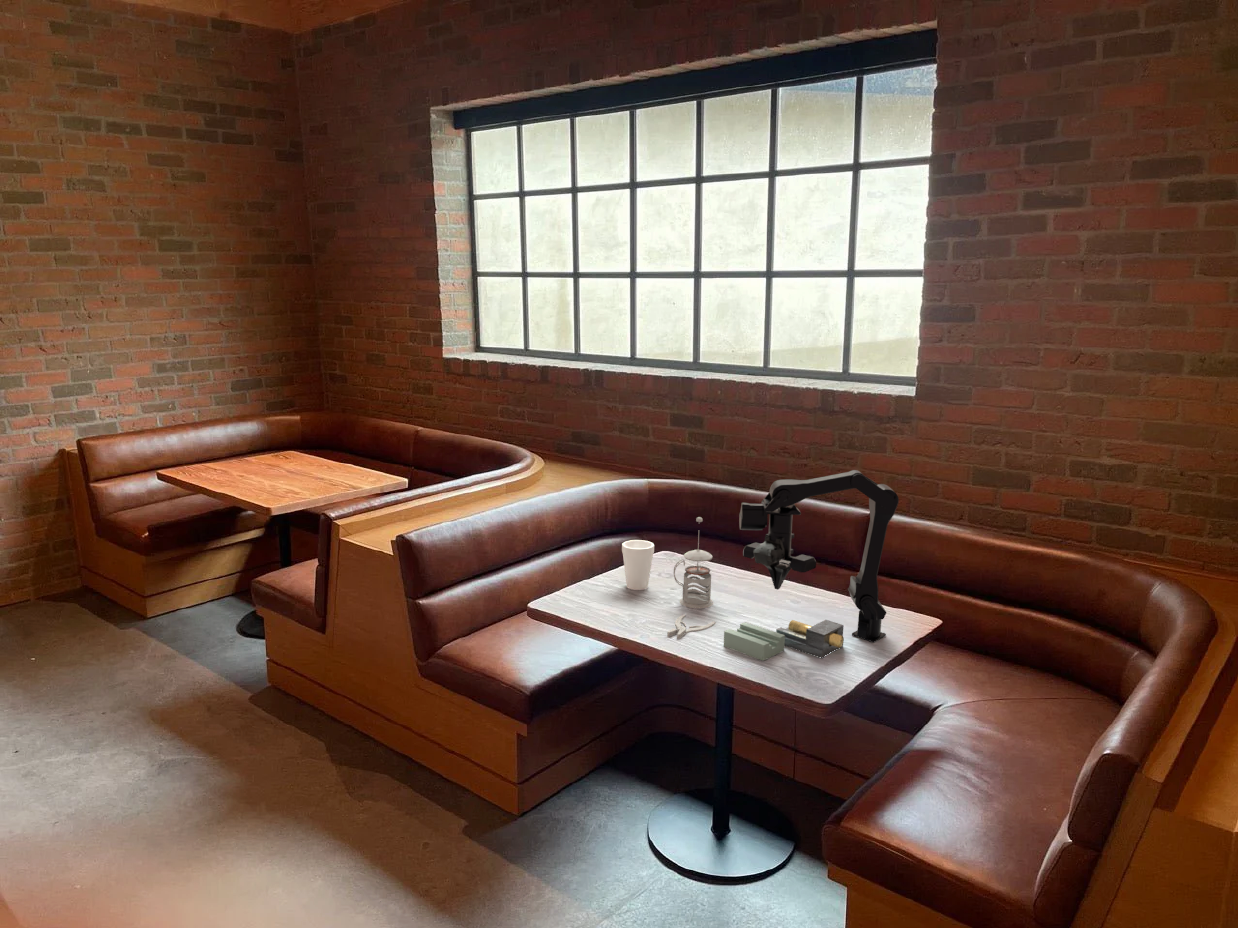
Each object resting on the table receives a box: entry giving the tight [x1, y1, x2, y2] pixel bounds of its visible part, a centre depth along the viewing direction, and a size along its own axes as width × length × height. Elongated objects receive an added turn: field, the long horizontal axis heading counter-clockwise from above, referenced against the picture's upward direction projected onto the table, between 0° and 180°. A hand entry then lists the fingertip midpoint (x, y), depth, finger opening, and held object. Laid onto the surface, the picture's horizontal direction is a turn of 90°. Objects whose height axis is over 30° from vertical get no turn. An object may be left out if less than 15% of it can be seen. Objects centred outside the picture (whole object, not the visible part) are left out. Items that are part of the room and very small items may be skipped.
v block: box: [723, 621, 785, 662], centre depth 216 cm, size 9×12×4 cm
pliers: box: [667, 613, 716, 640], centre depth 229 cm, size 10×2×15 cm
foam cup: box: [621, 539, 655, 591], centre depth 259 cm, size 10×9×13 cm
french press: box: [673, 516, 715, 610], centre depth 245 cm, size 10×12×25 cm
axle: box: [787, 619, 845, 649], centre depth 217 cm, size 3×14×3 cm, turn 45°
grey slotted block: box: [775, 619, 845, 659], centre depth 219 cm, size 10×14×6 cm
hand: (777, 588), depth 224 cm, fingers closed
